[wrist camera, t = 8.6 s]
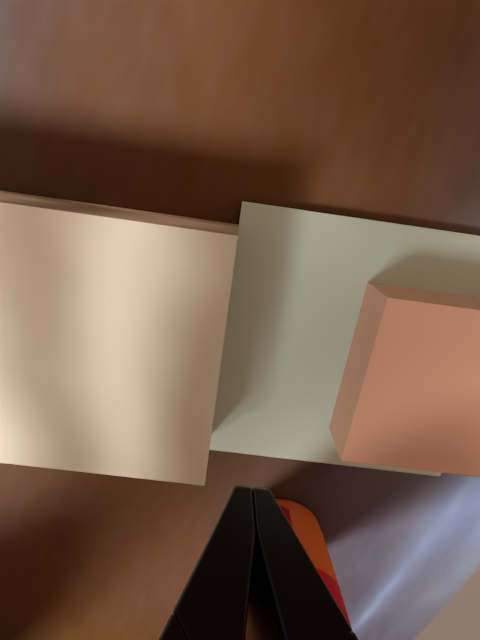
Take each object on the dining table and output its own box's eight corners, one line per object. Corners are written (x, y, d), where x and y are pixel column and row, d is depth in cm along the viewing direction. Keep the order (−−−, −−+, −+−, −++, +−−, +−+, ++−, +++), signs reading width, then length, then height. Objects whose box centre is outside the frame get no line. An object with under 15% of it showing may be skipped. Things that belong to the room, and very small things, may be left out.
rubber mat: (209, 444, 20) (208, 449, 20) (242, 200, 16) (242, 201, 16) (436, 471, 21) (440, 476, 21) (527, 242, 17) (534, 243, 16)
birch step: (-51, 398, 20) (-121, 448, 16) (-85, 178, 16) (-186, 175, 12) (211, 429, 20) (204, 485, 16) (238, 224, 16) (238, 235, 13)
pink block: (505, 480, 18) (474, 445, 20) (581, 324, 15) (534, 305, 17) (340, 460, 17) (329, 427, 20) (387, 297, 15) (367, 281, 17)
